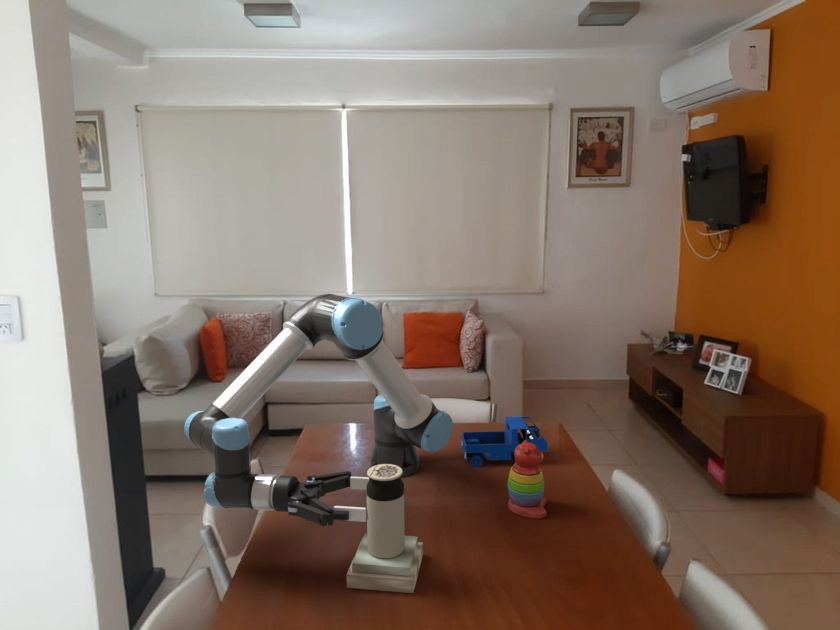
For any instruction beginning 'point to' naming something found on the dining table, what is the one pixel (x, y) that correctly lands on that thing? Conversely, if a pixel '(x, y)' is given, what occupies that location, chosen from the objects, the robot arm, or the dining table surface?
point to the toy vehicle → (500, 441)
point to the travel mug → (385, 511)
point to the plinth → (385, 578)
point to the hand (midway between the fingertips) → (373, 498)
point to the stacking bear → (527, 482)
